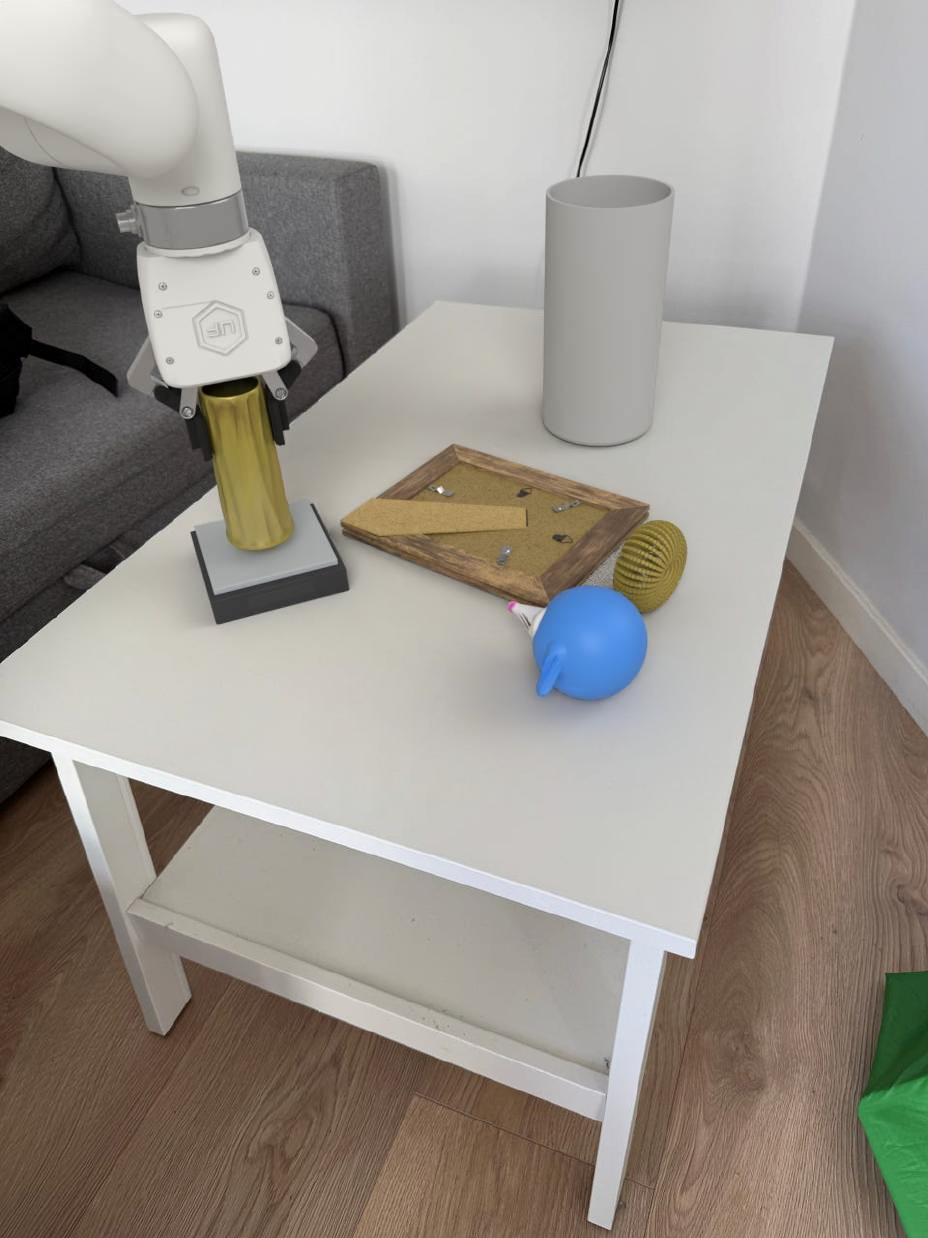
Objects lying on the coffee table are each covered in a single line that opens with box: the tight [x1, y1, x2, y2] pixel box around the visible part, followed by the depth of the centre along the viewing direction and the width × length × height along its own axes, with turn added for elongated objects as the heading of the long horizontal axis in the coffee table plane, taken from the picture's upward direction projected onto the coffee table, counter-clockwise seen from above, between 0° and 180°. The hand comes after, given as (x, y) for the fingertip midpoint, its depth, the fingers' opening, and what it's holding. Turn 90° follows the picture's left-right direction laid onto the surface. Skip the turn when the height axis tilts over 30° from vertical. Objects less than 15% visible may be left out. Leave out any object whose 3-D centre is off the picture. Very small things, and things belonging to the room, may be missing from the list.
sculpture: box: [612, 519, 688, 614], centre depth 77 cm, size 8×4×8 cm, turn 140°
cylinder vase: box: [542, 174, 676, 447], centre depth 98 cm, size 12×12×25 cm
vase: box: [197, 375, 295, 550], centre depth 78 cm, size 6×6×14 cm
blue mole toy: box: [507, 584, 649, 701], centre depth 70 cm, size 12×12×8 cm
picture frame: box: [340, 443, 651, 608], centre depth 89 cm, size 19×2×24 cm
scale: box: [189, 499, 350, 625], centre depth 84 cm, size 12×12×3 cm
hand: (242, 444), depth 77 cm, fingers closed on vase, 5 cm apart
